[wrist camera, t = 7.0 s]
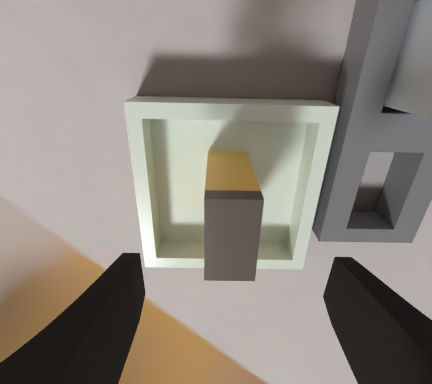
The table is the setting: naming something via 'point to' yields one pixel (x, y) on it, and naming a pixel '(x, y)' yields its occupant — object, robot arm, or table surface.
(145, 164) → the parts tray
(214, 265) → the yellow rectangular block
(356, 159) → the block
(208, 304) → the table surface
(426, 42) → the block
